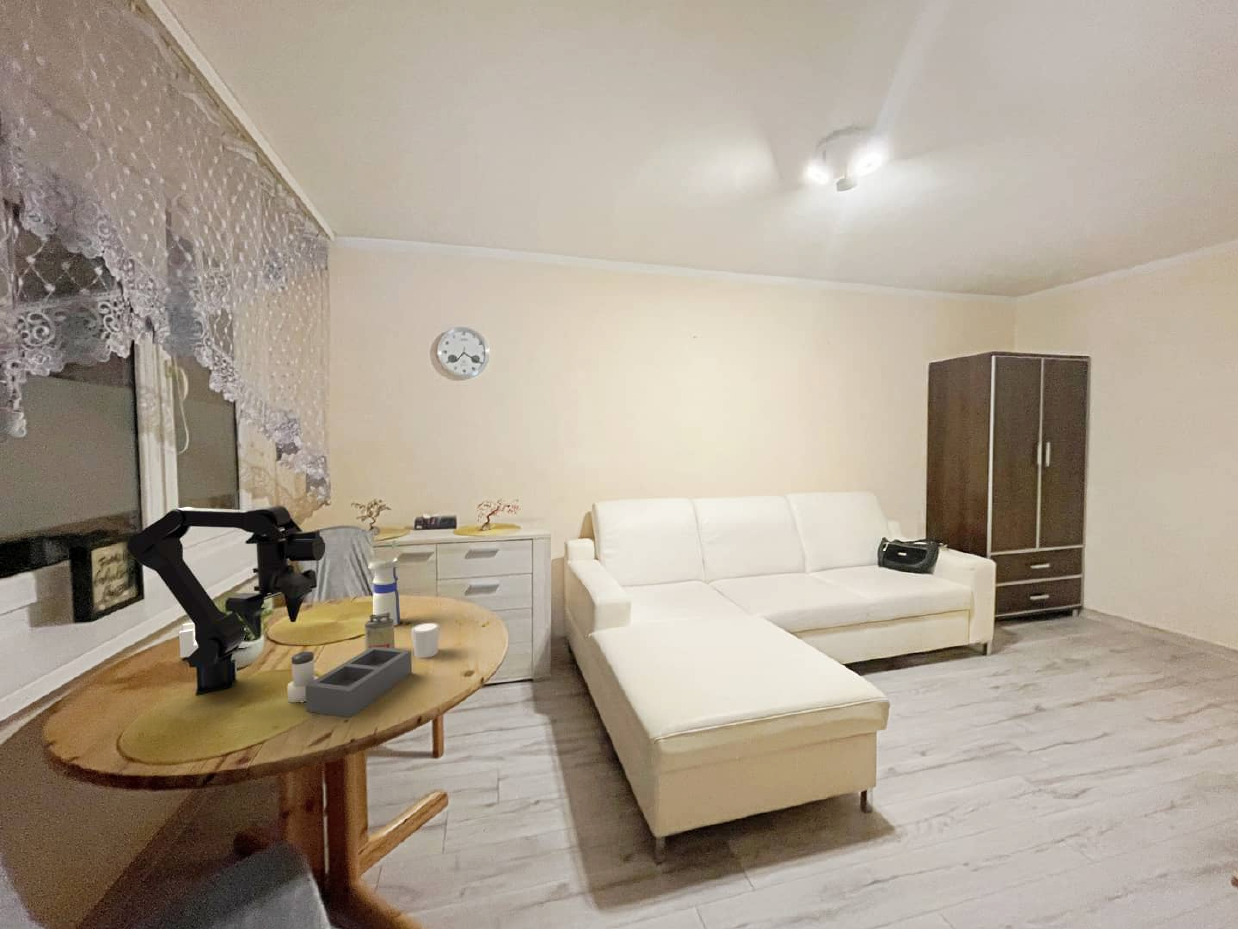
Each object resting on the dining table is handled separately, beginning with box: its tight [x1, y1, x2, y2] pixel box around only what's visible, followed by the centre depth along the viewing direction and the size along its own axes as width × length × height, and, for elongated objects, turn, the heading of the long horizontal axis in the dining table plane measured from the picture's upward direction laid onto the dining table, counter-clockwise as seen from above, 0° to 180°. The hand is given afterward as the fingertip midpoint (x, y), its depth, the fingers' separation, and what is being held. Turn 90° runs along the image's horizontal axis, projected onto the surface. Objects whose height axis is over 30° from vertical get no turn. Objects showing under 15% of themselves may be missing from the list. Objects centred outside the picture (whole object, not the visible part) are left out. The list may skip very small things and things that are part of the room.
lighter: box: [364, 612, 396, 651], centre depth 132 cm, size 7×4×10 cm, turn 112°
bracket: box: [178, 622, 198, 659], centre depth 133 cm, size 13×7×8 cm, turn 124°
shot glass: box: [411, 622, 440, 659], centre depth 130 cm, size 7×7×7 cm
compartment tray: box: [305, 647, 413, 718], centre depth 111 cm, size 20×11×6 cm, turn 167°
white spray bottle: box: [367, 539, 401, 627], centre depth 151 cm, size 8×9×25 cm
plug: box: [286, 651, 319, 702], centre depth 109 cm, size 6×6×9 cm
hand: (276, 629), depth 115 cm, fingers open, 9 cm apart
